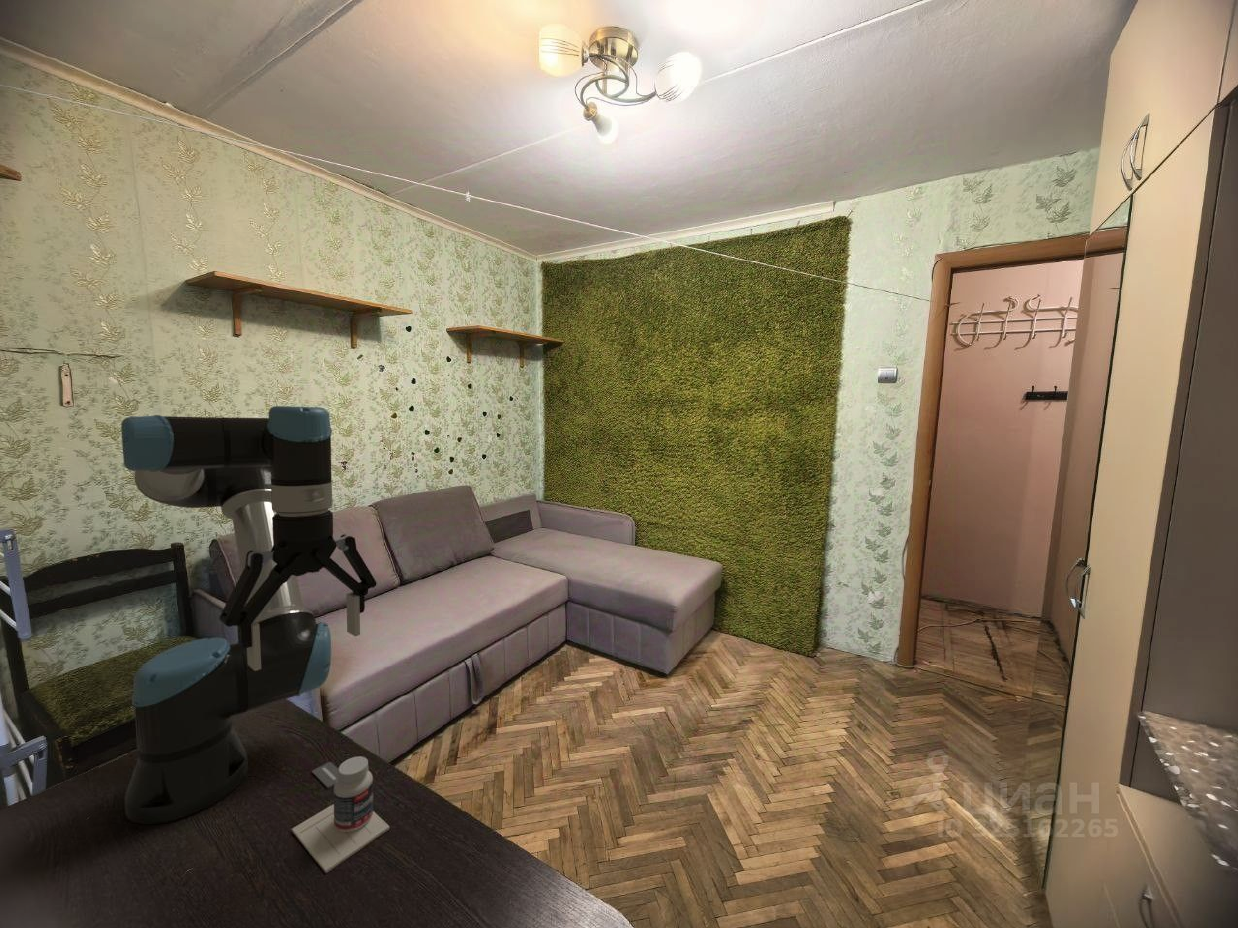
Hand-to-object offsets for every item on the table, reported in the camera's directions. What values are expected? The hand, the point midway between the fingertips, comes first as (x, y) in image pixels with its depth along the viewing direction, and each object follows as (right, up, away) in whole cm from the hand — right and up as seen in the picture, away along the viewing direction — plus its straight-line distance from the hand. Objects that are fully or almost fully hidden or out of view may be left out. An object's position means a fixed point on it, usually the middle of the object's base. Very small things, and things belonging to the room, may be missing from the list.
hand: (307, 649), depth 74 cm
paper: (+5, -27, -1) cm, 28 cm away
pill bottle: (+7, -27, +1) cm, 28 cm away
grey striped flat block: (-3, -26, +10) cm, 28 cm away
